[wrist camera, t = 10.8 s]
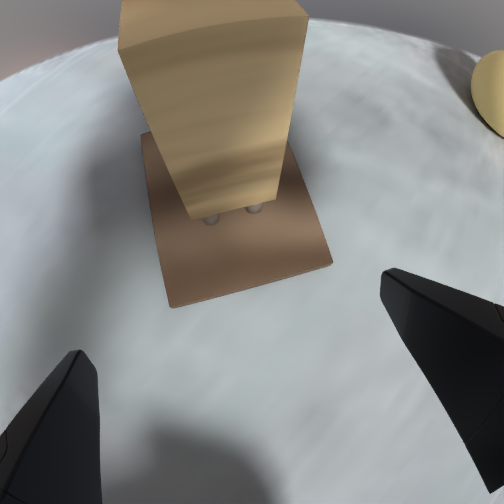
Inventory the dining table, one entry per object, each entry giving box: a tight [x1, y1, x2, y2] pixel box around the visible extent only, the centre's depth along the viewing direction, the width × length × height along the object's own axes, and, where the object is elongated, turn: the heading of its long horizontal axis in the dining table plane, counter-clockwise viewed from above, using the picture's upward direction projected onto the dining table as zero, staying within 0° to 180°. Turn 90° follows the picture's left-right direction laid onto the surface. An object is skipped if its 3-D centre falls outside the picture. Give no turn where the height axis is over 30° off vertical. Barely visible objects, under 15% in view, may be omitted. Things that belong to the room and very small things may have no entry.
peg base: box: [141, 132, 333, 308], centre depth 20 cm, size 14×11×4 cm
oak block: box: [118, 0, 309, 221], centre depth 13 cm, size 6×5×12 cm
